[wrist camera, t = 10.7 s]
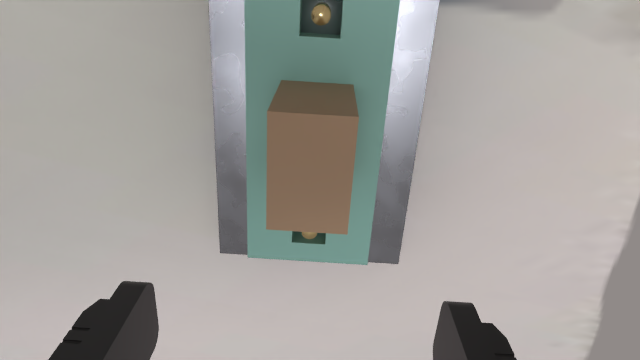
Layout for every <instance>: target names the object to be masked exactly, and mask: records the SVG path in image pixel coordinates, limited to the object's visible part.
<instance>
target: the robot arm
mask: <svg viewBox="0 0 640 360" xmlns="http://www.w3.org/2000/svg"><path fill="white" fill-rule="evenodd" d="M158 330H159V326H158V317H157V309H156V301H155V292H154V287H153V284H152V283H147V282H131V281H123V282H122V283H120V285H119V286H118V288H117V289H116V291H115V292H114V294H113V295H112V297H111V298H110V300H109V299H100V300H98V301H97V302H95V303H94V304H93V305H91V306H90V307H89V308H87V309H86V310H85V311H83V312H82V314H81V315H80V317H79V318H78V319H77V321H76V322H75V324H74V325H73V326H72V330H69V332H68V333H67V335H66V336H65V337H64V339H63V342H62V343H60V344H59V346H58V347H57V349H56V350H55V351H54V353H53V354H52V355H51V357H50V358H49V360H150V357H151V355H152V353H153V351H154V349H155V346H156V343H157V338H158ZM433 360H517V359H516V358H514V353H513V351H512V349H511V346H510V344H509V342H508V340H507V338H506V337H505V336H504V335H503V334H502V333H501V332H500V331H499V330H498V329H497V328H496V327H495V326H494V325H493V324H492V323H481V321H480V318H479V316H478V314H477V311H476V309H475V307H474V305H473V304H472V303H465V302H449V301H444V302H443V304H442V307H441V311H440V316H439V320H438V325H437V329H436V334H435V339H434V344H433Z"/></svg>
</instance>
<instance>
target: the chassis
mask: <svg viewBox="0 0 640 360" xmlns="http://www.w3.org/2000/svg"><path fill="white" fill-rule="evenodd" d="M439 1H440V0H400V5H399V13H398V21H397V29H396V37H395V45H394V53H393V61H392V70H391V78H390V86H389V94H388V102H387V110H386V118H385V126H384V134H383V142H382V150H381V158H380V166H379V175H378V183H377V191H376V199H375V207H374V215H373V223H372V231H371V239H370V247H369V255H368V262H375V263H391V264H398V262H399V256H400V249H401V243H402V236H403V230H404V224H405V217H406V211H407V205H408V198H409V192H410V186H411V179H412V173H413V166H414V160H415V154H416V147H417V141H418V135H419V128H420V122H421V115H422V109H423V103H424V96H425V90H426V84H427V77H428V71H429V65H430V58H431V52H432V45H433V39H434V33H435V26H436V20H437V14H438V7H439ZM342 2H343V0H302V18H301V32H303V33H318V34H334V35H340V29H341V15H342ZM209 22H210V43H211V65H212V87H213V109H214V130H215V152H216V174H217V196H218V217H219V239H220V253H229V254H245V255H248V245H247V169H246V93H245V16H244V0H209ZM301 233H302V236H303V237H304V238H306V239H313V238H315V237H316V235H317V233H314V232H301Z"/></svg>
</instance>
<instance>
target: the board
mask: <svg viewBox="0 0 640 360" xmlns="http://www.w3.org/2000/svg"><path fill="white" fill-rule="evenodd" d="M399 5H400V0H343V2H342V15H341V29H340V35H334V34H318V33H303V32H301V18H302V0H244V16H245V93H246V169H247V245H248V257H249V258H265V259H281V260H297V261H313V262H329V263H345V264H361V265H367V263H368V255H369V247H370V239H371V231H372V223H373V215H374V207H375V199H376V191H377V183H378V175H379V166H380V158H381V150H382V142H383V134H384V126H385V118H386V110H387V102H388V94H389V86H390V78H391V70H392V61H393V53H394V45H395V37H396V29H397V21H398V13H399ZM301 232H314V233H317V235H316V237H315V238H313V239H306V238H304V237H303V236H302V233H301Z"/></svg>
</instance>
